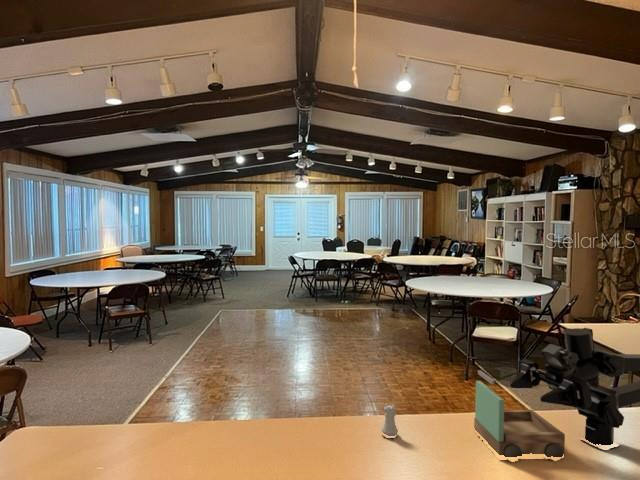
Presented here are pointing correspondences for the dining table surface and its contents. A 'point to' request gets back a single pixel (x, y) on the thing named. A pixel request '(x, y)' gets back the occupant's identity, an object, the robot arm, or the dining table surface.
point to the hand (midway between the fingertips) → (525, 392)
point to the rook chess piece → (389, 421)
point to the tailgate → (489, 408)
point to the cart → (525, 435)
